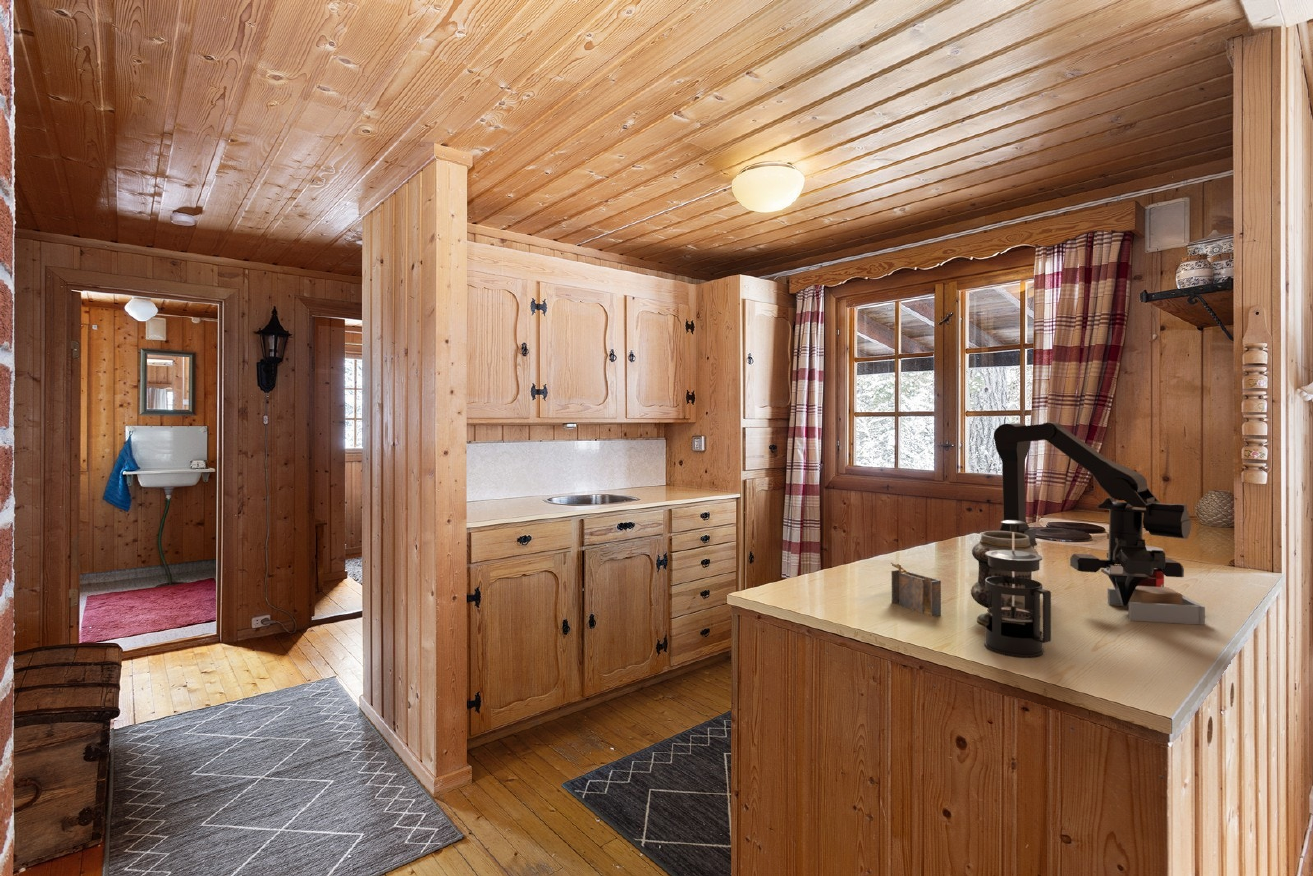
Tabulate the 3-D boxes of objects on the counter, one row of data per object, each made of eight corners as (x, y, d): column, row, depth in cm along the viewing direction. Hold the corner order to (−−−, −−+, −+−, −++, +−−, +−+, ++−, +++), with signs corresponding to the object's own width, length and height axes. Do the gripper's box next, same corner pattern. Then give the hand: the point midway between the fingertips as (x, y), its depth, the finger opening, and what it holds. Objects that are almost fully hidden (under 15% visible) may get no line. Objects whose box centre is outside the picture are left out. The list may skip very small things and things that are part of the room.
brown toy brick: (1142, 617, 132) (1142, 593, 132) (1128, 607, 139) (1128, 584, 139) (1183, 620, 130) (1183, 595, 130) (1166, 610, 137) (1167, 586, 137)
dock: (1130, 620, 131) (1130, 603, 131) (1107, 603, 142) (1107, 588, 142) (1204, 624, 127) (1205, 607, 127) (1174, 607, 139) (1175, 591, 139)
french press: (969, 643, 119) (968, 518, 119) (1004, 635, 123) (1003, 514, 123) (1029, 664, 109) (1029, 528, 108) (1065, 655, 113) (1065, 523, 112)
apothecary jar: (1013, 637, 122) (1013, 542, 122) (957, 619, 133) (957, 532, 132) (1052, 626, 128) (1052, 535, 127) (995, 611, 139) (995, 527, 138)
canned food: (1149, 591, 152) (1149, 544, 151) (1172, 600, 144) (1173, 551, 144) (1114, 591, 153) (1114, 544, 152) (1136, 600, 145) (1136, 551, 144)
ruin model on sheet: (890, 604, 146) (889, 562, 146) (900, 603, 147) (900, 560, 147) (930, 618, 136) (930, 572, 135) (940, 616, 137) (940, 570, 137)
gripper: (1088, 536, 131) (1086, 613, 131) (1198, 541, 125) (1196, 621, 126) (1070, 527, 141) (1068, 598, 142) (1171, 531, 136) (1169, 605, 137)
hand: (1124, 605), depth 136 cm, fingers closed
